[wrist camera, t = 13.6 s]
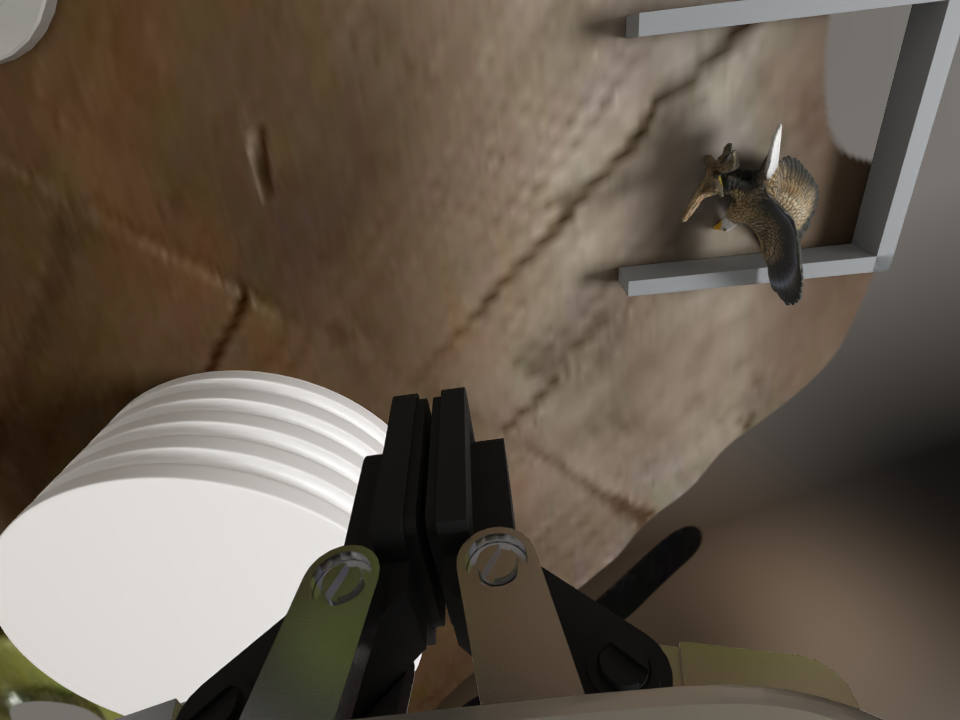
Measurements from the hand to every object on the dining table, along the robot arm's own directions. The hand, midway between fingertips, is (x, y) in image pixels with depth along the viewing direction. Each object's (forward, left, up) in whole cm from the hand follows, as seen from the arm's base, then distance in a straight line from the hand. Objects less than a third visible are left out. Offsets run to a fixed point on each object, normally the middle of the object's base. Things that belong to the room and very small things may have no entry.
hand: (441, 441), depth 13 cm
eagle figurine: (+2, +18, -24) cm, 30 cm away
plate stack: (+24, -19, -24) cm, 39 cm away
